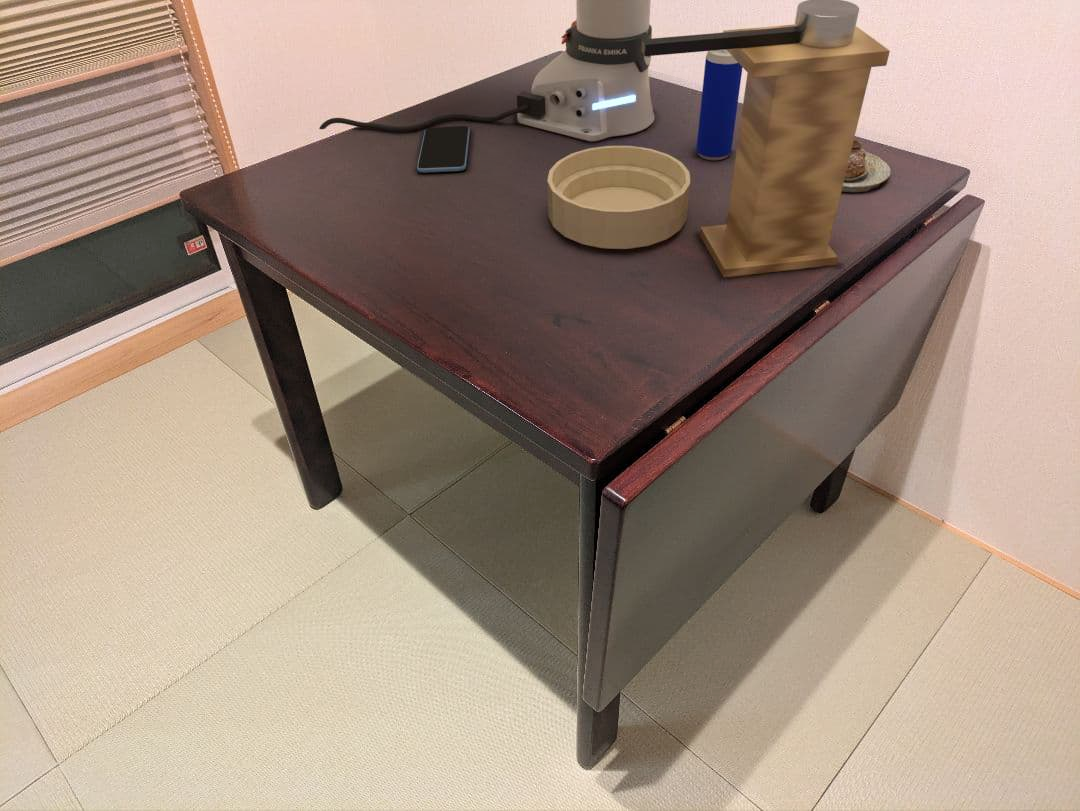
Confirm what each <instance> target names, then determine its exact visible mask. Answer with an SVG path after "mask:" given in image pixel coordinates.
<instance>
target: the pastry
mask: <svg viewBox="0 0 1080 811" xmlns="http://www.w3.org/2000/svg"><path fill="white" fill-rule="evenodd" d="M891 171H892V170H891V167H890V166H889V164H888V163H887V162H886V161H885V160H883V159H882V158H880V157H879V156H877V155H876V154H873V153H871V152H868V151H865V150H864V149H863V148H862V143H861V142H860V141H858V140H854V141H853V146H852V150H851V154H850V158H849V162H848V166H847V170H846V174H845V179H844V183H843V187H842V191H841V193H842V192H843V193H861V192H862V193H863V192H869V191H871V190H872V189H875V188H877V187H879V186H880V185H881V184H882V183H884V182H885V181H886V180H888V179H889V178H890V177H891V173H892V172H891Z"/></svg>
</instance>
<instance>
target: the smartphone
mask: <svg viewBox="0 0 1080 811" xmlns="http://www.w3.org/2000/svg"><path fill="white" fill-rule="evenodd" d="M470 133H471V130H470V127H469V126H466V125H457V126H456V125H455V126H434V127H426V129H424V132H423V137H422V140H421V141H422V142H421V147H420V150H419V151H420V152H419V154H418V159H417V167H416V168H417V172H418V173H423V174H425V173H442V172H443V173H447V172H460V171H461V172H462V171H465V169H466V168H467V161H468V152H469V151H468V150H469V143H470Z"/></svg>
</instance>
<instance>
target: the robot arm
mask: <svg viewBox="0 0 1080 811" xmlns="http://www.w3.org/2000/svg"><path fill="white" fill-rule="evenodd" d="M651 1H652V0H575V2H576V4H575V7H576V12H575V13H576V14H575V15H576V19H575V20H574V21H572V22H571V25H570V27H568V28H567V29H566V30H565V33H564V34H563V35H561V45H564V44H565V50H564V51H562V53H560V54H559V55H558V56H556V57H555V58H554V59H552V60H551V61H550V62H548V64H546V66H544V67H543V68H542V69H541V70H540V71H539V72H538V73H537V74H536V76H535V78H534V79H533V82H532V86H531V90H530V92H529V91H526V90H522V91H521V92H519V93H518V94H516V108H513V109H510V110H507V111H505V112H503V113H500V114H497V115H492V116H482V115H474V114H467V113H466V114H465V113H449V114H443V115H439V116H436V117H434V118H433V117H432V118H431V119H428V120H425V121H422V122H419V123H415V124H411V125H401V126H400V125H398V126H397V125H387V124H381V123H374V122H364V121H358V120H354V119H351V118H345V117H344V118H343V117H331V118H329V119H326V120H325V121H324V122H322V123H321V125H320V126H319V130H325V129H326V128H327V127H329V126H330V125H333V124H342V125H343V124H344V125H347V126H353V127H356V128H361V129H374V130H381V131H387V132H398V133H403V132H413V131H419V130H421V129H424V128H428V127H430V126H433V125H435V124H438V123H440V122H444V121H445V122H446V121H450V120H466V121H472V122H478V123H493V122H498V121H501V120H504V119H506V118H508V117H511V116H514V115H517V116H516V120H517V122H518V123H519V124H521V125H524V126H529V127H533V128H537V129H541V130H545V131H547V132H551V133H555V134H559V135H563V136H567V137H571V138H575V139H579V140H582V141H587V142H599V141H602V140H605V139H607V138H611V137H619V136H620V137H621V136H626V135H631V134H635V133H638V132H641V131H643V130H645V129H648V128H649V127H650V126H651V125H652V124H653V123H654V122H655V118H656V117H655V113H654V108H653V104H652V98H651V97H652V96H651V90H650V73H649V72H650V71H649V67H650V65H651V60H652V56H644V54H643V53H642V51H641V47H642V39H653V27H652V25H651V24H650V19H651V5H652V4H651V3H652V2H651Z"/></svg>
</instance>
